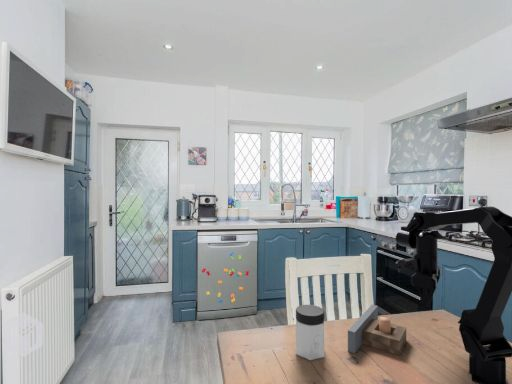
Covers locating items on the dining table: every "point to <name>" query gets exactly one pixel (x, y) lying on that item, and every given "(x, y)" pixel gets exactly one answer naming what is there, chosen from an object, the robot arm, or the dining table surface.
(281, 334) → the dining table surface
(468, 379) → the dining table surface
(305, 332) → the jar
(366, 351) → the dining table surface
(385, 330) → the dowel
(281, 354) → the dining table surface
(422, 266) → the robot arm
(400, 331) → the block
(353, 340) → the bar
